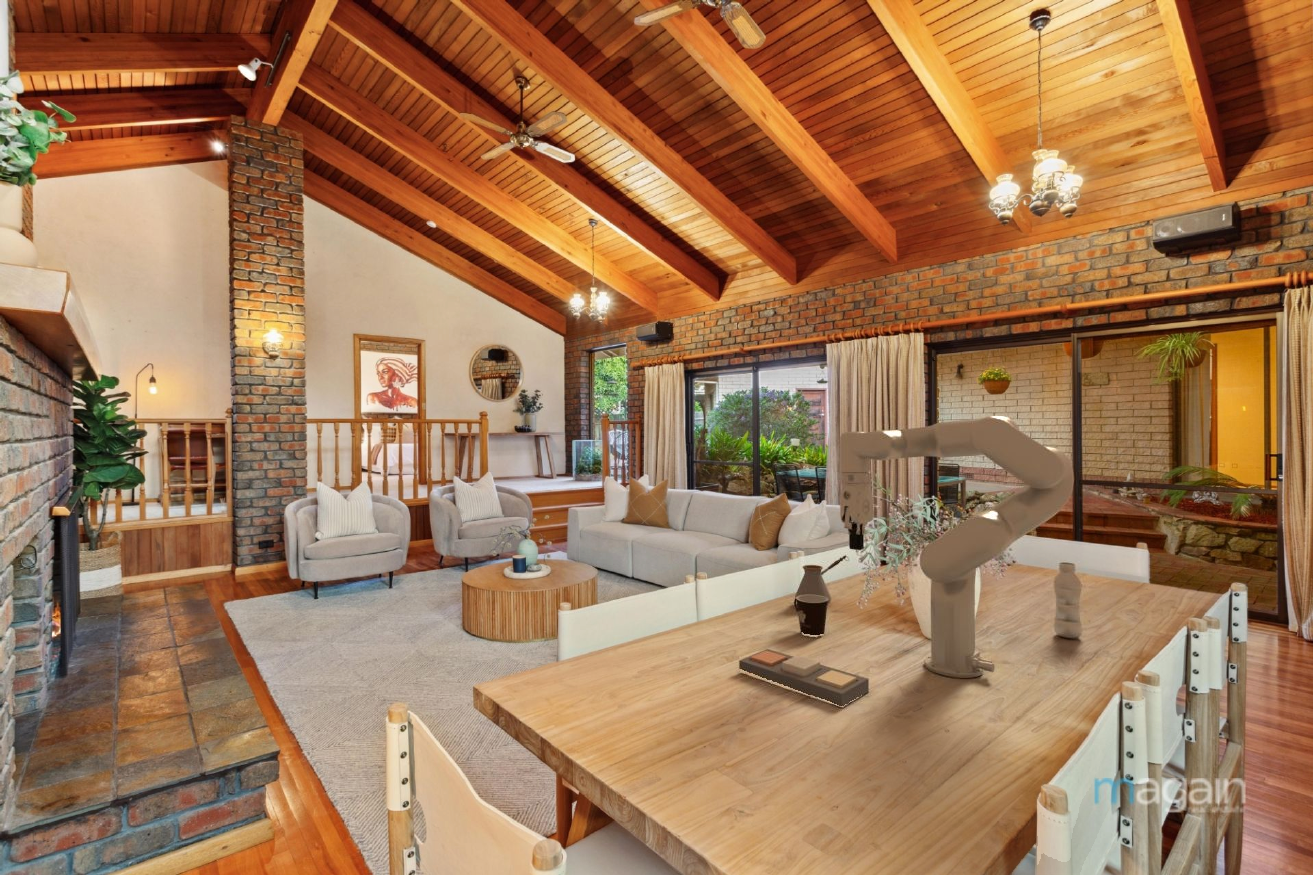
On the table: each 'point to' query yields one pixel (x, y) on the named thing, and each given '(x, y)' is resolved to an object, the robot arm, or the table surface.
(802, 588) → the coffee pot
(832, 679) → the block
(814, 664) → the key grey
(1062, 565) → the plastic bottle
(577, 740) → the table surface
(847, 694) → the keypad
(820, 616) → the coffee mug
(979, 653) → the robot arm
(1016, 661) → the table surface
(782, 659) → the key terracotta
